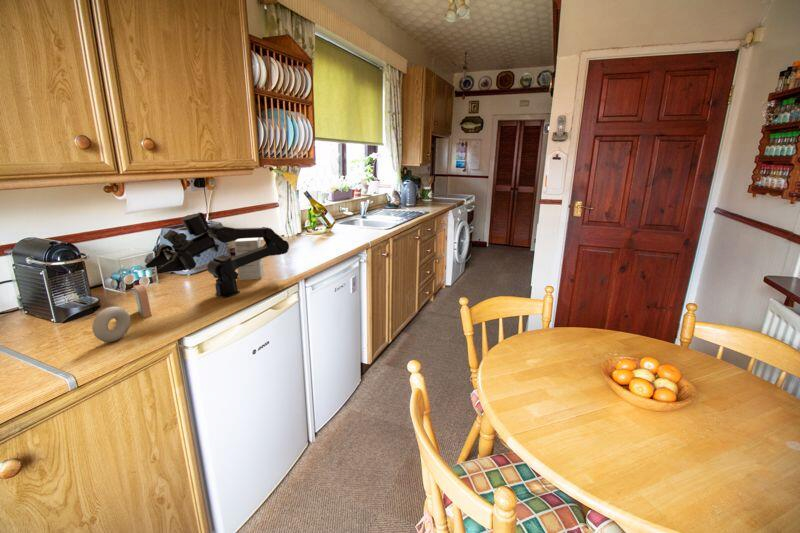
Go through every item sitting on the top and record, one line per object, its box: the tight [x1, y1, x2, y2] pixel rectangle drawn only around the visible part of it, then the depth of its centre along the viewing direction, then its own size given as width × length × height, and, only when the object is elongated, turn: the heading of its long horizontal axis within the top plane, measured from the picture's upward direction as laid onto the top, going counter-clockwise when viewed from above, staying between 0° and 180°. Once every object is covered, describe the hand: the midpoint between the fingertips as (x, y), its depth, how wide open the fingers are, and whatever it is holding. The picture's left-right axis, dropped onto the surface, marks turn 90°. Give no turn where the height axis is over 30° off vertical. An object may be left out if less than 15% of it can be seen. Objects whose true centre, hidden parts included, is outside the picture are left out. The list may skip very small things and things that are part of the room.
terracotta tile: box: [132, 284, 153, 319], centre depth 124 cm, size 2×8×9 cm, turn 43°
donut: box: [92, 306, 131, 343], centre depth 105 cm, size 10×3×10 cm, turn 166°
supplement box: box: [233, 238, 265, 281], centre depth 161 cm, size 10×9×17 cm
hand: (151, 269), depth 121 cm, fingers open, 9 cm apart
